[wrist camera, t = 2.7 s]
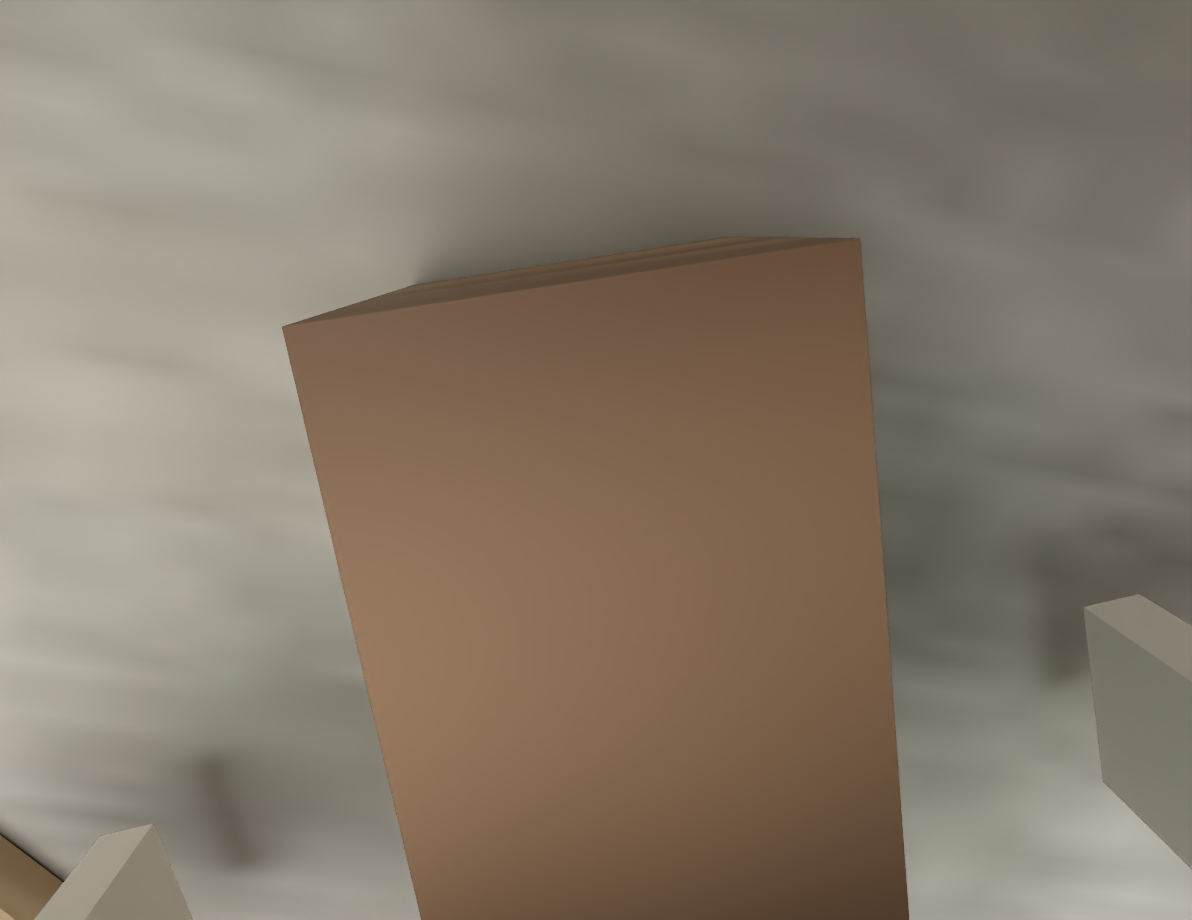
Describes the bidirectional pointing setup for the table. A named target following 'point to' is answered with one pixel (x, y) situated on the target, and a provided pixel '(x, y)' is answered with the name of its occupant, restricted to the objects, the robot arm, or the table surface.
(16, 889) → the cleat board
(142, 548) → the table surface
